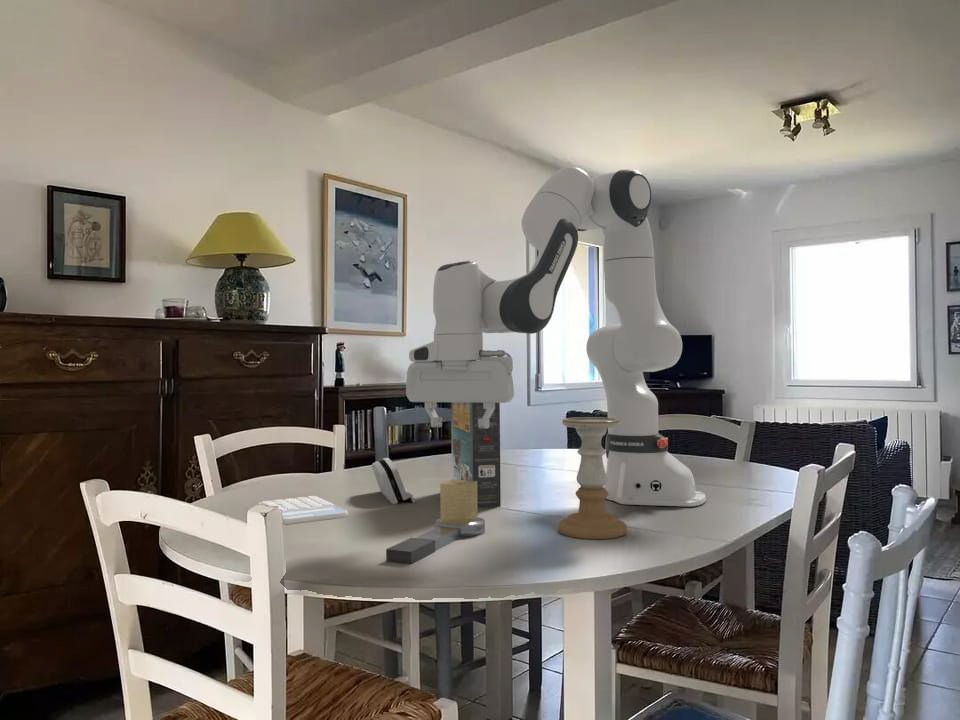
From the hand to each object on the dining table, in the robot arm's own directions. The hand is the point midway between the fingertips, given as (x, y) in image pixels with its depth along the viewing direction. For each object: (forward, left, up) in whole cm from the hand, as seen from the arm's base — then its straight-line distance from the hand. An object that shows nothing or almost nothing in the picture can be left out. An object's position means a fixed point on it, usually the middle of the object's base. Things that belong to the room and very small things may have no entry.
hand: (459, 427), depth 132 cm
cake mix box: (+11, -31, -19) cm, 38 cm away
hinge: (+29, -25, -19) cm, 43 cm away
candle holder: (-22, -9, -19) cm, 30 cm away
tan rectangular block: (0, 0, -17) cm, 17 cm away
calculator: (+38, -4, -20) cm, 43 cm away
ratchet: (0, +9, -19) cm, 21 cm away
